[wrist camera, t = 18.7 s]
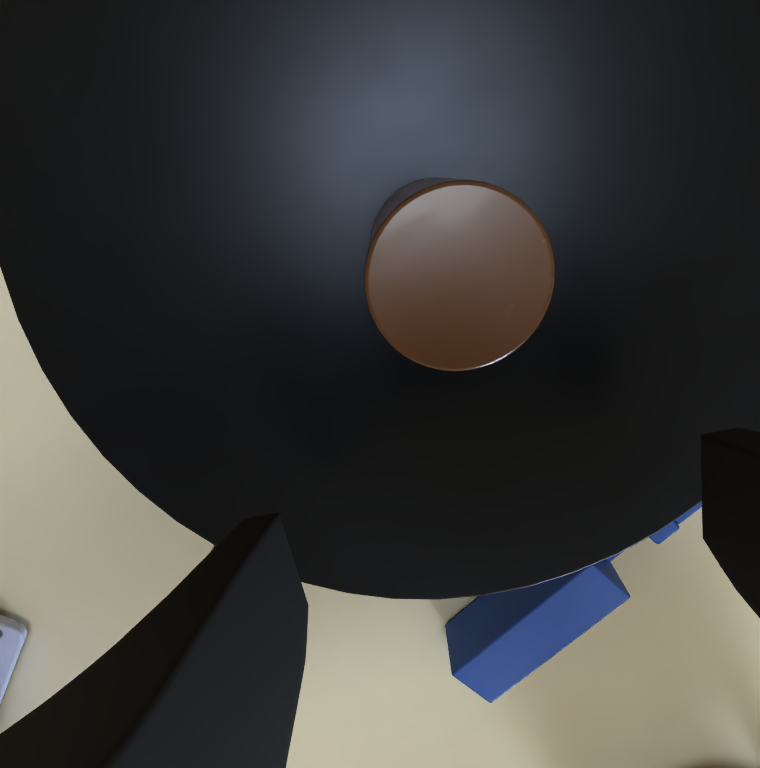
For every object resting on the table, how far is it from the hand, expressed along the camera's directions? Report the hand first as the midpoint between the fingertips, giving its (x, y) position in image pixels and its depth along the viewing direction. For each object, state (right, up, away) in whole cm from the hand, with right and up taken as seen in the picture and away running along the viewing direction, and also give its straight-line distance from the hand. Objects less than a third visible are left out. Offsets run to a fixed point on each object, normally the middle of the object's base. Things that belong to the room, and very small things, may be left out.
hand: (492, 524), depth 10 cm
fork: (+5, -4, +11) cm, 13 cm away
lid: (-1, +5, +2) cm, 6 cm away
